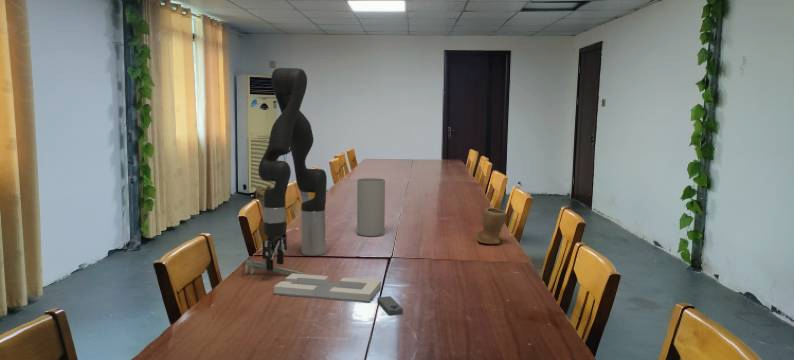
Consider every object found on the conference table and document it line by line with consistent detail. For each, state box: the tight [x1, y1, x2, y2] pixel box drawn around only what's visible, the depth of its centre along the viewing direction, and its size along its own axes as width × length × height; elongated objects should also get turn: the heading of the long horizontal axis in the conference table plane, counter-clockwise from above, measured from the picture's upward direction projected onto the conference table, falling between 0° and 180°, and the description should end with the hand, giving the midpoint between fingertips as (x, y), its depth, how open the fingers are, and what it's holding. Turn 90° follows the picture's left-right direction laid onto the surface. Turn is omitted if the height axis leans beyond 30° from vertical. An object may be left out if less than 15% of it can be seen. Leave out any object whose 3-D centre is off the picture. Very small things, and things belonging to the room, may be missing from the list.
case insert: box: [273, 273, 382, 304], centre depth 170 cm, size 14×30×2 cm, turn 78°
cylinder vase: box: [356, 177, 386, 238], centre depth 249 cm, size 12×12×25 cm
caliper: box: [244, 256, 303, 276], centre depth 186 cm, size 21×1×6 cm, turn 86°
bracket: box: [376, 295, 404, 316], centre depth 156 cm, size 4×11×2 cm, turn 19°
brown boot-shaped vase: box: [475, 207, 507, 245], centre depth 238 cm, size 15×12×15 cm
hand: (275, 267), depth 185 cm, fingers open, 8 cm apart
